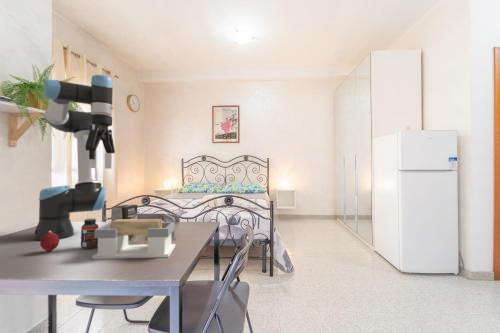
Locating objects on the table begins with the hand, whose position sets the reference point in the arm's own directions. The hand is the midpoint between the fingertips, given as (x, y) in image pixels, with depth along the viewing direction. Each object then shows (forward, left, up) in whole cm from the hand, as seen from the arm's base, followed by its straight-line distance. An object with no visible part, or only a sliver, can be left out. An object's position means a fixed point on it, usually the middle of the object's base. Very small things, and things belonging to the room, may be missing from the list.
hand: (101, 168), depth 108 cm
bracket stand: (+6, +16, -32) cm, 36 cm away
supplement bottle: (-2, -5, -32) cm, 32 cm away
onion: (+3, -17, -32) cm, 36 cm away
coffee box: (-6, +7, -32) cm, 33 cm away
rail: (+6, +16, -25) cm, 30 cm away
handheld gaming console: (-15, +20, -32) cm, 41 cm away
